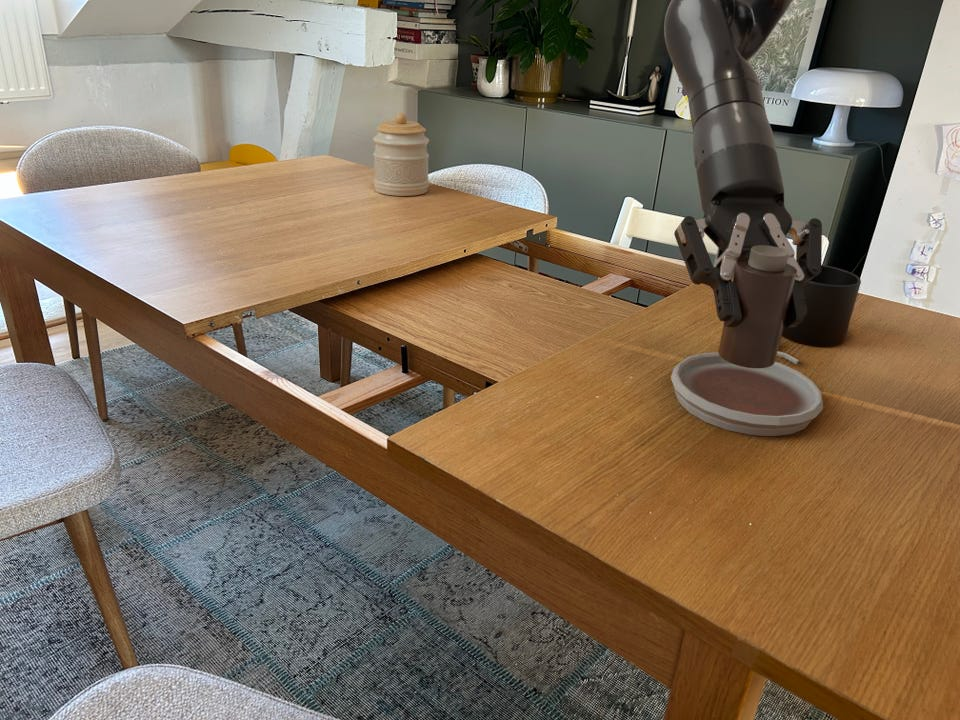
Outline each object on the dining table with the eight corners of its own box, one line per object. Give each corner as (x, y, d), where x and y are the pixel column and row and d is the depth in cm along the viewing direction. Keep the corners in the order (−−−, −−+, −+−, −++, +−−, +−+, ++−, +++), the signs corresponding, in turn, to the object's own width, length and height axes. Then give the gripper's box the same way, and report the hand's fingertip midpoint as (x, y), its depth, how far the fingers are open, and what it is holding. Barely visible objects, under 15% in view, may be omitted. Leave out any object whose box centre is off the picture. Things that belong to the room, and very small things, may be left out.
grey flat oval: (843, 344, 97) (814, 433, 75) (838, 364, 98) (807, 457, 76) (714, 315, 104) (652, 387, 82) (710, 334, 106) (649, 410, 83)
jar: (430, 185, 180) (431, 110, 173) (427, 198, 169) (428, 118, 161) (376, 183, 180) (375, 107, 172) (370, 195, 168) (369, 115, 160)
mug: (759, 313, 112) (772, 256, 108) (844, 329, 108) (861, 270, 104) (752, 335, 104) (766, 275, 100) (844, 353, 100) (861, 291, 96)
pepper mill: (778, 352, 71) (804, 248, 66) (770, 373, 67) (797, 263, 62) (724, 340, 73) (745, 238, 68) (712, 359, 69) (734, 252, 64)
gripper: (678, 138, 67) (704, 308, 62) (825, 142, 69) (863, 308, 64) (652, 182, 75) (673, 339, 69) (786, 185, 76) (817, 338, 71)
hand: (764, 323), depth 66 cm, fingers closed on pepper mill, 5 cm apart
